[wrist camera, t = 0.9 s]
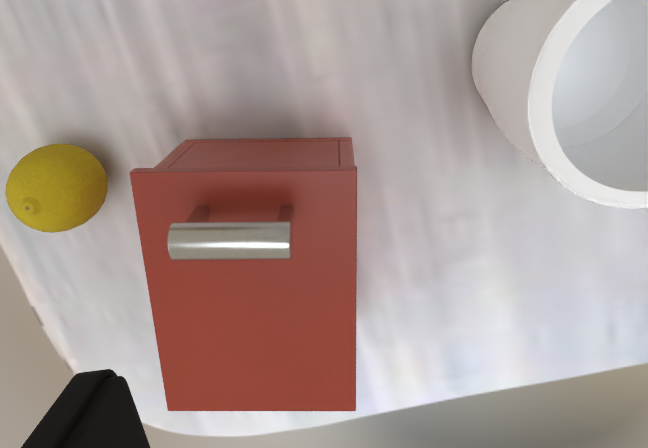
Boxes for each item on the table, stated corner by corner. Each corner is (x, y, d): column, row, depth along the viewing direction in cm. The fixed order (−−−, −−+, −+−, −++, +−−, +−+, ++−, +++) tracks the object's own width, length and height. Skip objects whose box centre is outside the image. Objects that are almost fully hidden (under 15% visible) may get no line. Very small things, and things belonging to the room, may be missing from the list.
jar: (454, 140, 38) (522, 219, 24) (454, -21, 34) (536, -39, 20) (608, 128, 37) (771, 202, 23) (627, -38, 33) (837, -68, 19)
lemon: (87, 117, 38) (26, 145, 30) (139, 180, 39) (94, 220, 32) (31, 159, 39) (-40, 196, 31) (84, 218, 40) (28, 266, 33)
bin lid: (134, 168, 28) (89, 204, 23) (356, 165, 28) (360, 201, 23) (171, 402, 34) (141, 472, 29) (355, 402, 34) (358, 474, 29)
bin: (185, 139, 38) (136, 182, 29) (351, 137, 38) (356, 179, 29) (206, 318, 44) (171, 402, 34) (351, 318, 43) (355, 402, 34)
